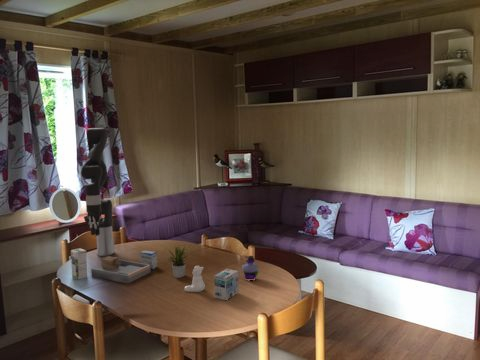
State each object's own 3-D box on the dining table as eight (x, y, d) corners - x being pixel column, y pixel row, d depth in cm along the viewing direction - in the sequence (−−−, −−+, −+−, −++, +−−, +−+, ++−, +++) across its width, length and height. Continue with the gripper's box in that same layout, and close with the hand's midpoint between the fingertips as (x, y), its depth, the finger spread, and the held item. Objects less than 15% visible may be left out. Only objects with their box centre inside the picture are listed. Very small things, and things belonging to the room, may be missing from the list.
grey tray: (116, 265, 241) (115, 258, 241) (150, 272, 230) (150, 264, 230) (91, 276, 225) (91, 268, 225) (127, 283, 215) (127, 275, 214)
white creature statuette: (196, 284, 212) (196, 261, 211) (210, 288, 207) (210, 264, 206) (183, 291, 205) (182, 266, 203) (197, 295, 200) (196, 269, 198)
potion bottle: (257, 283, 214) (257, 259, 212) (240, 281, 215) (240, 258, 214) (260, 276, 222) (260, 254, 221) (243, 275, 224) (243, 253, 222)
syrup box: (71, 277, 223) (70, 250, 221) (82, 274, 228) (81, 247, 226) (77, 280, 219) (75, 252, 217) (88, 277, 224) (86, 249, 222)
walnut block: (108, 265, 235) (108, 256, 234) (118, 266, 232) (118, 257, 231) (101, 267, 230) (101, 258, 230) (112, 269, 227) (111, 260, 226)
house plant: (200, 275, 224) (200, 245, 222) (179, 283, 214) (178, 251, 212) (182, 269, 234) (182, 240, 232) (162, 276, 224) (161, 245, 222)
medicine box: (140, 267, 238) (139, 252, 237) (145, 265, 242) (144, 249, 241) (152, 269, 235) (152, 253, 234) (157, 266, 239) (156, 251, 238)
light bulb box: (226, 301, 193) (226, 277, 191) (214, 298, 196) (213, 275, 195) (239, 293, 202) (239, 270, 200) (227, 290, 205) (226, 268, 204)
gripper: (108, 203, 231) (110, 234, 233) (89, 201, 237) (90, 232, 239) (98, 205, 224) (100, 238, 226) (78, 203, 230) (80, 235, 233)
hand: (95, 234), depth 233 cm, fingers closed
